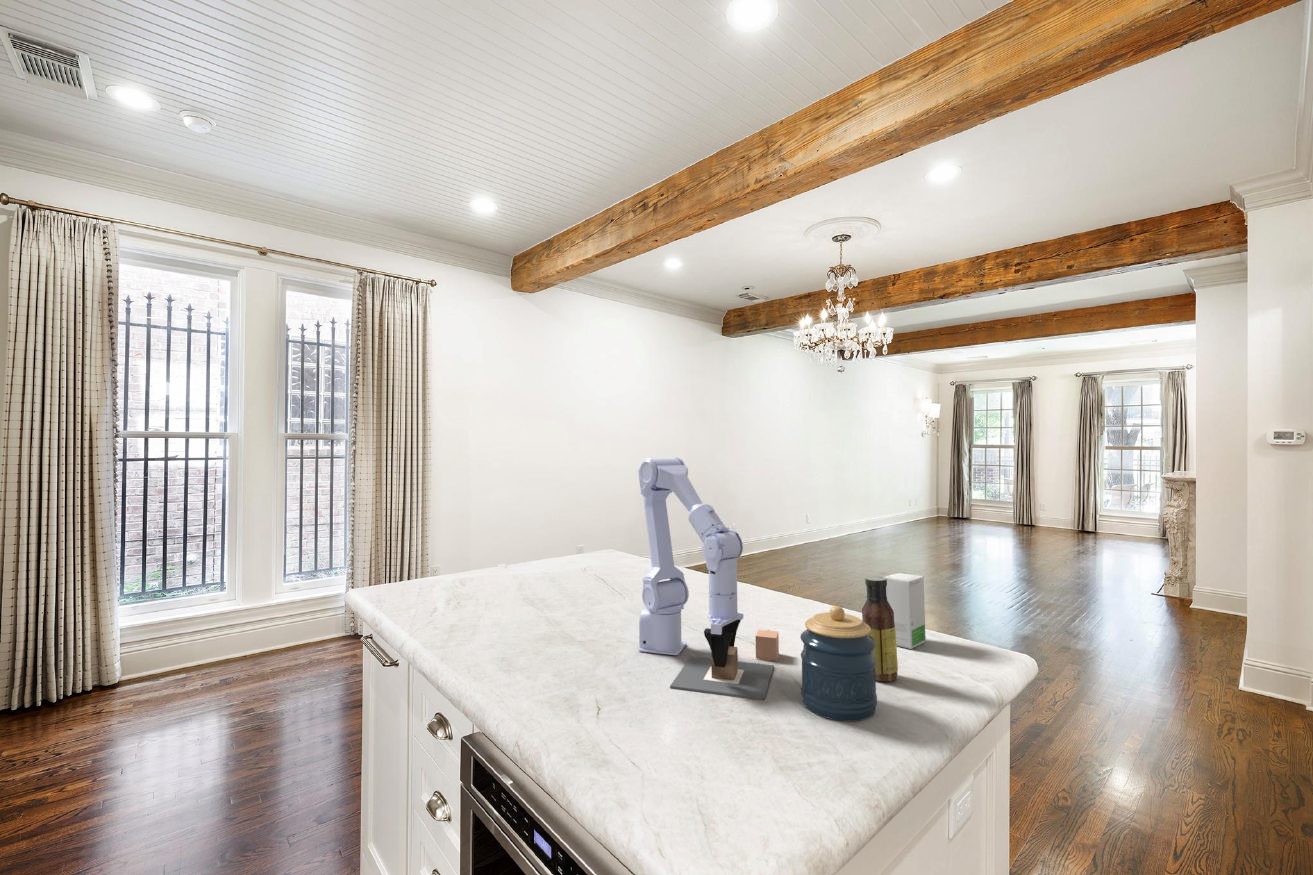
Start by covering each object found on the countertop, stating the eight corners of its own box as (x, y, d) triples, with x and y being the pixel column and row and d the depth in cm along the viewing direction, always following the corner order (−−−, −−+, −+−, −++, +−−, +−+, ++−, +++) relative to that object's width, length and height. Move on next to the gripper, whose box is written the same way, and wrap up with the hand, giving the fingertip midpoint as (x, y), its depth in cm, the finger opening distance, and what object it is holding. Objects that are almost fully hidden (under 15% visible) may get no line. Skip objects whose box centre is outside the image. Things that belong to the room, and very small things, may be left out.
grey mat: (670, 687, 107) (670, 685, 107) (690, 657, 122) (690, 655, 122) (764, 700, 101) (764, 697, 101) (773, 667, 117) (773, 664, 117)
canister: (869, 730, 90) (867, 621, 91) (791, 711, 97) (790, 610, 97) (883, 699, 101) (881, 602, 102) (813, 683, 108) (811, 593, 109)
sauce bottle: (896, 673, 113) (894, 575, 113) (899, 685, 107) (897, 582, 107) (862, 669, 115) (860, 573, 115) (863, 681, 109) (861, 580, 110)
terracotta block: (755, 658, 121) (755, 636, 122) (758, 651, 126) (758, 629, 126) (776, 661, 120) (776, 638, 120) (778, 653, 124) (778, 631, 124)
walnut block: (711, 677, 110) (711, 652, 110) (716, 669, 115) (715, 644, 115) (734, 680, 109) (733, 654, 109) (737, 671, 113) (737, 647, 113)
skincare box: (911, 650, 125) (909, 581, 126) (882, 642, 130) (881, 576, 131) (926, 641, 131) (925, 575, 131) (899, 634, 136) (898, 571, 136)
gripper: (736, 602, 104) (737, 675, 104) (748, 584, 118) (749, 648, 117) (699, 599, 106) (700, 671, 106) (715, 582, 120) (716, 645, 120)
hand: (723, 659), depth 112 cm, fingers open, 7 cm apart
